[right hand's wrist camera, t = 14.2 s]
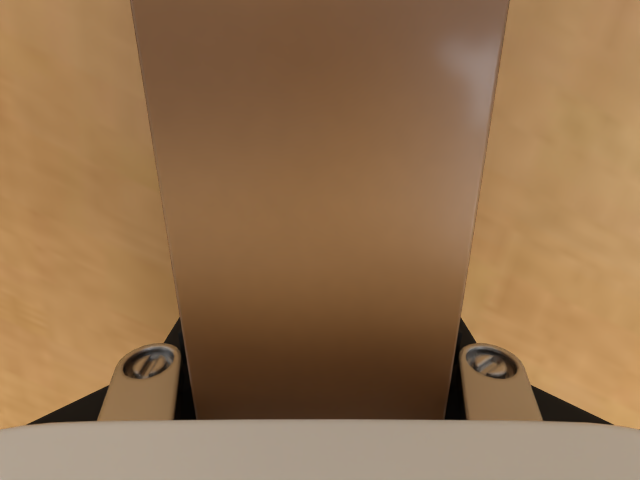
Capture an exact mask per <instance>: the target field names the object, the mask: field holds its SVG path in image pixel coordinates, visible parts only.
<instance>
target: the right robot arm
mask: <svg viewBox="0 0 640 480" xmlns="http://www.w3.org/2000/svg"><path fill="white" fill-rule="evenodd" d="M0 480H640V429H634V428H629V427H623V426H617V425H613V424H611V423H609V422H607V421H605V420H603V419H601V418H599V417H597V416H594V415H592V414H590V413H588V412H586V411H584V410H582V409H580V408H578V407H576V406H574V405H571V404H569V403H567V402H565V401H563V400H561V399H559V398H557V397H555V396H553V395H551V394H549V393H546V392H544V391H542V390H540V389H538V388H536V387H534V386H532V385H530V382H529V379H528V376H527V374H526V371H525V368H524V366H523V364H522V363H521V361H520V360H519V359H518V358H517V357H516V356H515V355H514V354H512V353H510V352H509V351H507V350H505V349H503V348H500V347H498V346H495V345H490V344H484V343H476V341H475V340H474V338H473V336H472V335H471V333H470V331H469V330H468V328H467V327H466V325H465V323H464V322H463V320H462V318H461V317H460V323H459V330H458V336H457V343H456V349H455V356H454V362H453V369H452V375H451V381H450V388H449V394H448V401H447V407H446V414H445V420H375V419H263V420H196V415H195V409H194V403H193V396H192V390H191V384H190V377H189V371H188V365H187V358H186V352H185V345H184V339H183V333H182V326H181V320H180V317H179V319H178V321H177V322H176V324H175V326H174V327H173V329H172V330H171V332H170V334H169V335H168V337H167V339H166V340H165V342H164V343H156V344H150V345H145V346H142V347H140V348H137V349H135V350H133V351H131V352H130V353H128V354H126V355H125V356H124V357H123V358H122V359H121V360H120V361H119V363H118V364H117V366H116V368H115V371H114V374H113V376H112V379H111V382H110V385H108V386H106V387H104V388H102V389H100V390H98V391H96V392H94V393H92V394H90V395H88V396H85V397H83V398H81V399H79V400H77V401H75V402H73V403H71V404H69V405H67V406H65V407H63V408H60V409H58V410H56V411H54V412H52V413H50V414H48V415H46V416H44V417H42V418H40V419H37V420H35V421H33V422H31V423H29V424H27V425H23V426H17V427H11V428H6V429H0Z"/></svg>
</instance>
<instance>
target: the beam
mask: <svg viewBox="0 0 640 480" xmlns="http://www.w3.org/2000/svg"><path fill="white" fill-rule="evenodd" d="M509 1H510V0H130V3H131V9H132V16H133V22H134V28H135V35H136V41H137V47H138V54H139V60H140V66H141V73H142V79H143V85H144V92H145V98H146V104H147V111H148V117H149V123H150V130H151V136H152V142H153V149H154V155H155V162H156V168H157V174H158V181H159V187H160V193H161V200H162V206H163V212H164V219H165V225H166V231H167V238H168V244H169V250H170V257H171V263H172V269H173V276H174V282H175V288H176V295H177V301H178V307H179V314H180V320H181V326H182V333H183V339H184V345H185V352H186V358H187V365H188V371H189V377H190V384H191V390H192V396H193V403H194V409H195V415H196V420H263V419H375V420H445V414H446V407H447V401H448V394H449V388H450V381H451V375H452V369H453V362H454V356H455V349H456V343H457V336H458V330H459V323H460V317H461V310H462V304H463V298H464V291H465V285H466V278H467V272H468V265H469V259H470V252H471V246H472V240H473V233H474V227H475V220H476V214H477V207H478V201H479V194H480V188H481V182H482V175H483V169H484V162H485V156H486V149H487V143H488V136H489V130H490V123H491V117H492V111H493V104H494V98H495V91H496V85H497V78H498V72H499V65H500V59H501V53H502V46H503V40H504V33H505V27H506V20H507V14H508V7H509Z"/></svg>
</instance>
